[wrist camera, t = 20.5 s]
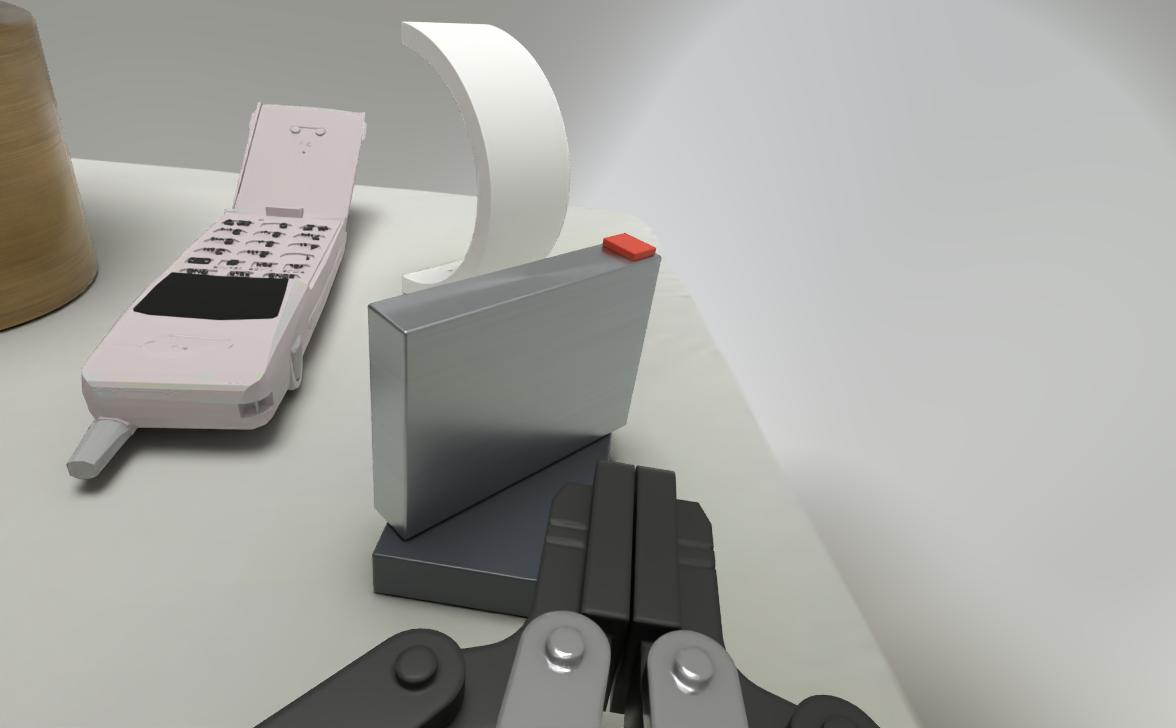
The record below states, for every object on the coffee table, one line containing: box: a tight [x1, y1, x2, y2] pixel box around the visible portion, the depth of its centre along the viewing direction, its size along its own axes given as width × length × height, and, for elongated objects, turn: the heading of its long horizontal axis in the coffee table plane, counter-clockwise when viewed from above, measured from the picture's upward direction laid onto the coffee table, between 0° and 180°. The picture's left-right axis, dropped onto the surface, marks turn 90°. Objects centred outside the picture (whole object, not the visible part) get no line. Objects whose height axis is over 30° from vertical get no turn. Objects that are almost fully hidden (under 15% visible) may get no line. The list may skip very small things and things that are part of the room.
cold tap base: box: [372, 433, 611, 617], centre depth 22 cm, size 6×9×2 cm, turn 175°
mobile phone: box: [67, 102, 367, 479], centre depth 29 cm, size 6×6×25 cm
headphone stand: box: [402, 22, 570, 294], centre depth 30 cm, size 5×6×12 cm
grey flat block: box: [368, 233, 661, 540], centre depth 20 cm, size 9×2×7 cm, turn 135°
